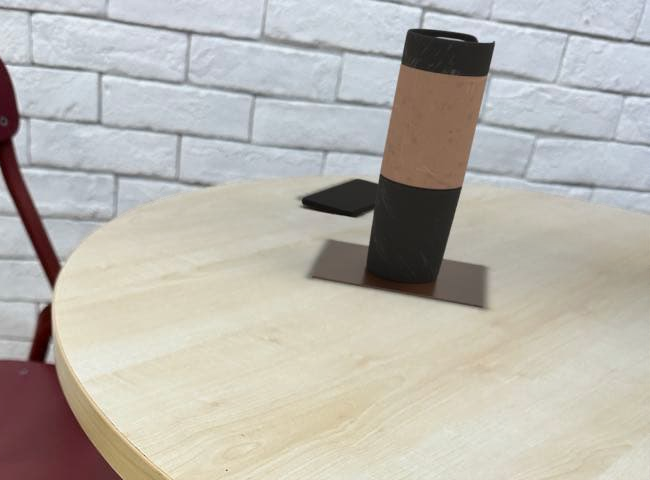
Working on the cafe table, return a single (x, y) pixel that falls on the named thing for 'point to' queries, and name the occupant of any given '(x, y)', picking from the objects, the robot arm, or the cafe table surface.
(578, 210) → the cafe table surface
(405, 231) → the travel mug
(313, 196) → the smartphone
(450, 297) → the coaster board
